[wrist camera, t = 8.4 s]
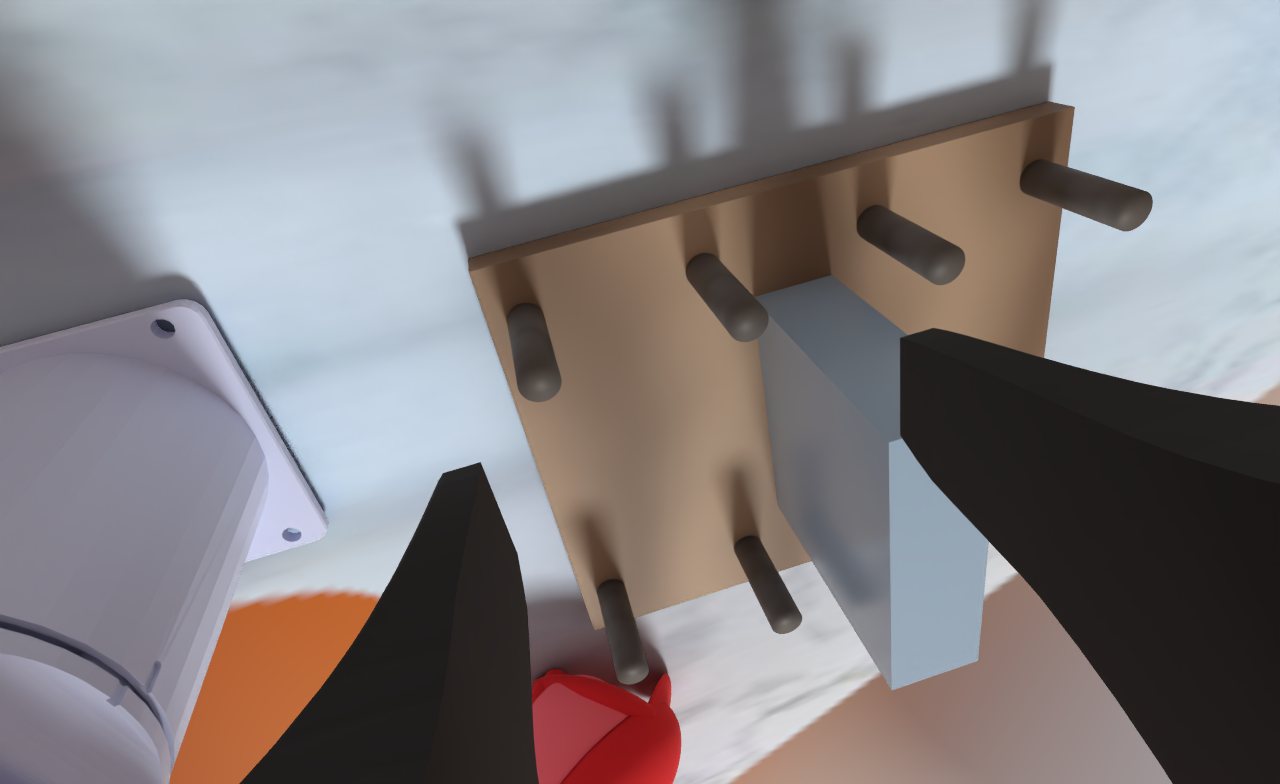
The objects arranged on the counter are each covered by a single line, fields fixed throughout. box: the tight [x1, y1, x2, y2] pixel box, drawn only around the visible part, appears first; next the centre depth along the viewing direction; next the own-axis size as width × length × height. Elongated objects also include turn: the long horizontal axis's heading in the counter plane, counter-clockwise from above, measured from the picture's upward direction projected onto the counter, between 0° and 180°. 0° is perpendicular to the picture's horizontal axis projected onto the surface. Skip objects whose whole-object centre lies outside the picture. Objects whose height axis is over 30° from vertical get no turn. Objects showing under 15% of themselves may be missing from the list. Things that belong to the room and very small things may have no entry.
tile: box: [755, 275, 989, 690], centre depth 19 cm, size 2×8×8 cm, turn 12°
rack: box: [468, 102, 1153, 684], centre depth 22 cm, size 17×14×4 cm
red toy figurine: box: [532, 669, 681, 784], centre depth 27 cm, size 8×6×6 cm
